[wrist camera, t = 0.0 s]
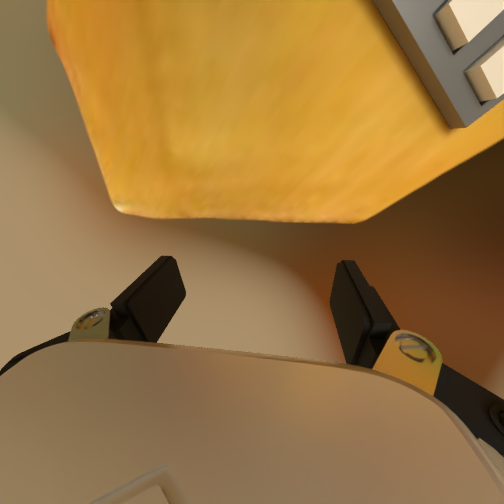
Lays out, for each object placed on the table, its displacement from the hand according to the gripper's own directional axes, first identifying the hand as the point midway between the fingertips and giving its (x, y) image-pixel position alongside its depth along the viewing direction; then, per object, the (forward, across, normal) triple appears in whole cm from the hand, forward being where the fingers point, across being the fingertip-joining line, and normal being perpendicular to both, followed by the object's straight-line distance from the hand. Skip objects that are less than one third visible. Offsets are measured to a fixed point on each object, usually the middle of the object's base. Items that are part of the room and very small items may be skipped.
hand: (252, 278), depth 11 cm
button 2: (+29, -29, -13) cm, 43 cm away
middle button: (+29, -23, -19) cm, 42 cm away
